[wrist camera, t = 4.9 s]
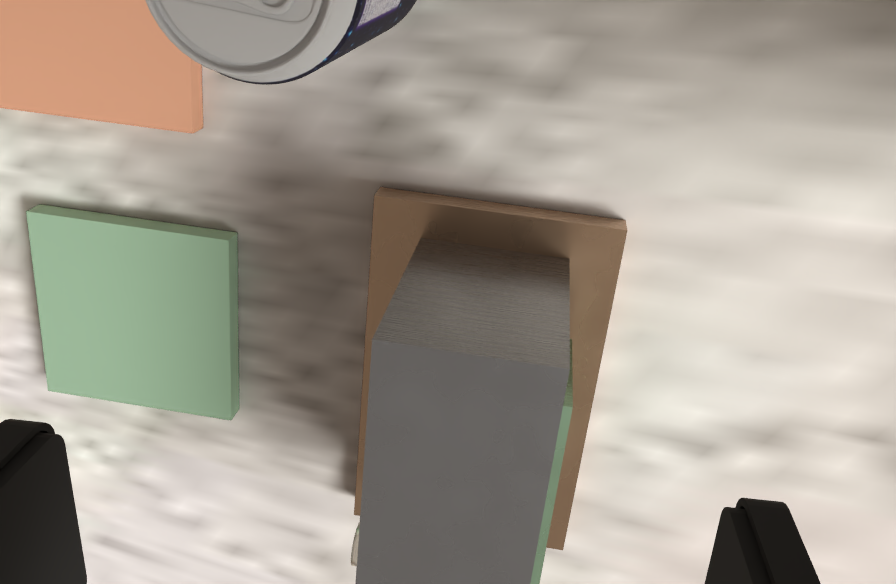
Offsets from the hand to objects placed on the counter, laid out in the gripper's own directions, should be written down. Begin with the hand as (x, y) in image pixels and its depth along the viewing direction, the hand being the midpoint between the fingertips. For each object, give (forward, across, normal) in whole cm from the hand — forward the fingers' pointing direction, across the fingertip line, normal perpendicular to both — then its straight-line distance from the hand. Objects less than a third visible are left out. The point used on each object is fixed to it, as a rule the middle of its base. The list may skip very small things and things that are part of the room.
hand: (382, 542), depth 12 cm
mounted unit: (+23, 0, +10) cm, 25 cm away
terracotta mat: (+23, +16, -5) cm, 29 cm away
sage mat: (+23, +15, +9) cm, 29 cm away
